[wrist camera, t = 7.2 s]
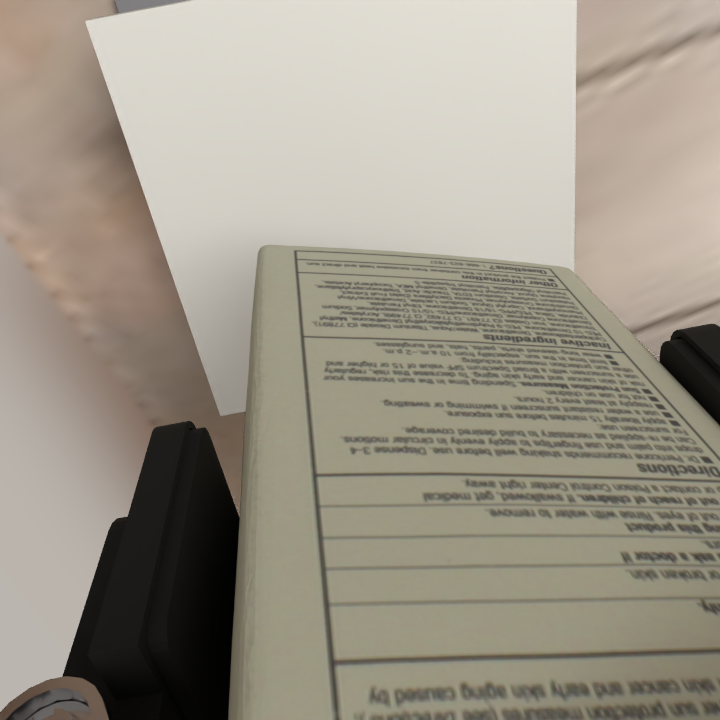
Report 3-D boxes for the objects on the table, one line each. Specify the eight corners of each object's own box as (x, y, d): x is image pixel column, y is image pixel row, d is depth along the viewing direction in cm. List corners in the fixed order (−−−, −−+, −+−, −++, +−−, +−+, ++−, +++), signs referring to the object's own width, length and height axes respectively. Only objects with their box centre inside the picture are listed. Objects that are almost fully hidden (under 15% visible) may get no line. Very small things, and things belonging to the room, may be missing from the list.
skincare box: (245, 427, 14) (116, 1759, 4) (256, 233, 12) (9, 2160, 2) (534, 442, 15) (1084, 1542, 5) (592, 264, 13) (1901, 1599, 2)
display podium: (517, -86, 23) (596, -101, 17) (528, 279, 30) (586, 359, 24) (118, -9, 23) (58, 3, 17) (226, 336, 30) (210, 429, 24)
